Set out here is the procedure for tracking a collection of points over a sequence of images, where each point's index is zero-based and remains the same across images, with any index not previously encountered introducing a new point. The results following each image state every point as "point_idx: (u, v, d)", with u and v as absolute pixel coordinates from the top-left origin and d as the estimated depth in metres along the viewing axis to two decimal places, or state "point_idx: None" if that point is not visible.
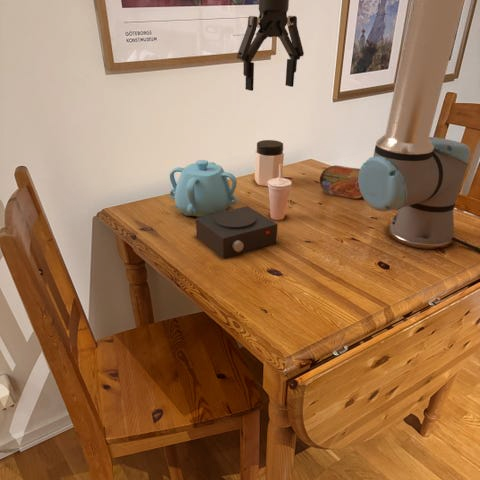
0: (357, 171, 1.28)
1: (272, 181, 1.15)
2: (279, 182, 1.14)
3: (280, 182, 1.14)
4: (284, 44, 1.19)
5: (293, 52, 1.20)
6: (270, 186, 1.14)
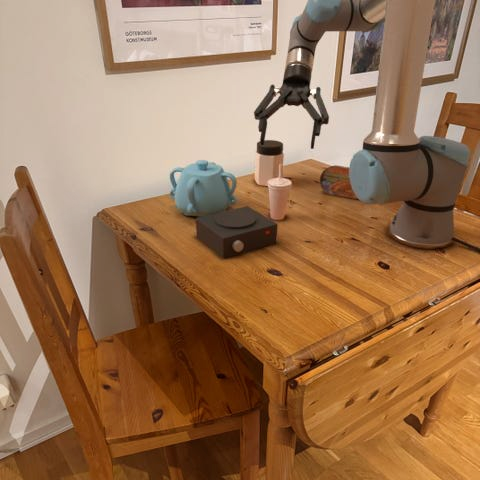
0: None
1: (272, 181, 1.15)
2: (279, 182, 1.14)
3: (280, 182, 1.14)
4: (308, 111, 1.20)
5: (315, 114, 1.18)
6: (270, 186, 1.14)
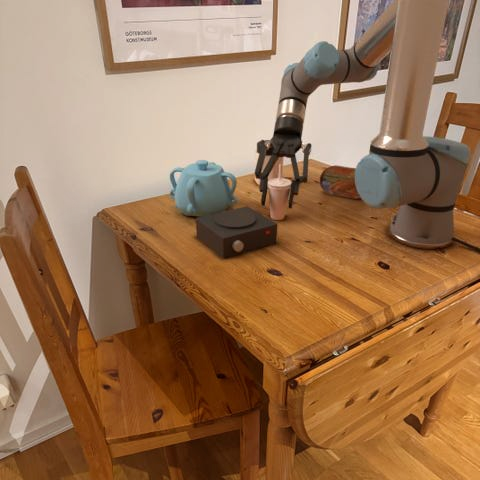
0: None
1: (272, 181, 1.15)
2: (279, 182, 1.14)
3: (280, 182, 1.14)
4: (292, 166, 1.16)
5: (295, 172, 1.14)
6: (270, 186, 1.14)
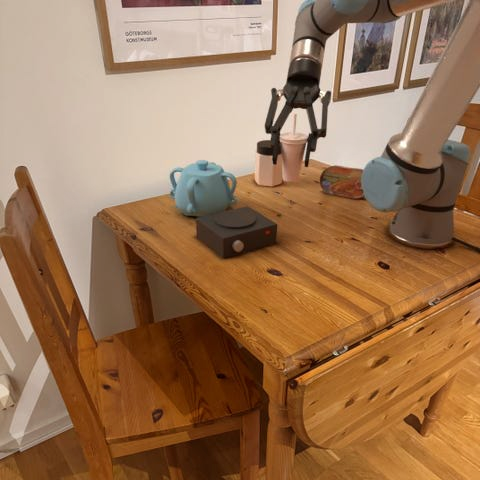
0: (357, 171, 1.28)
1: (285, 135, 0.98)
2: (294, 136, 0.97)
3: (295, 136, 0.97)
4: (308, 118, 0.99)
5: (312, 124, 0.97)
6: (283, 140, 0.97)
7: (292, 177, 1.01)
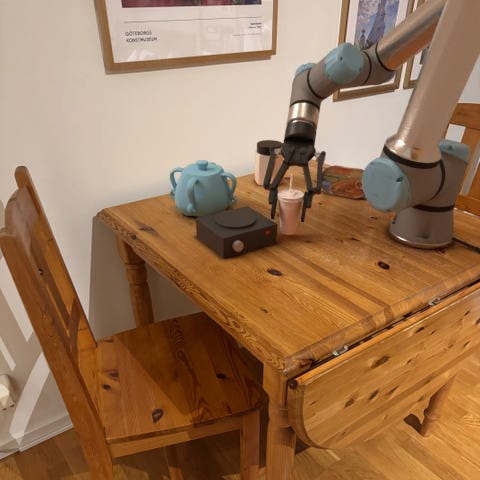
0: (357, 171, 1.28)
1: (282, 193, 1.05)
2: (291, 194, 1.04)
3: (291, 194, 1.04)
4: (304, 176, 1.06)
5: (308, 183, 1.04)
6: (280, 198, 1.03)
7: (289, 230, 1.08)
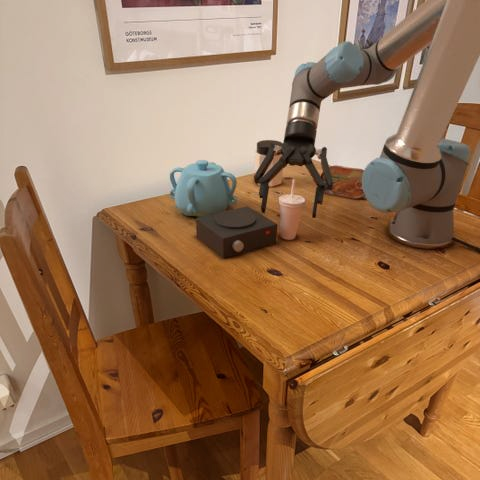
0: (357, 171, 1.28)
1: (284, 198, 1.06)
2: (292, 199, 1.04)
3: (293, 199, 1.04)
4: (311, 174, 1.06)
5: (318, 179, 1.03)
6: (282, 203, 1.04)
7: (289, 235, 1.09)
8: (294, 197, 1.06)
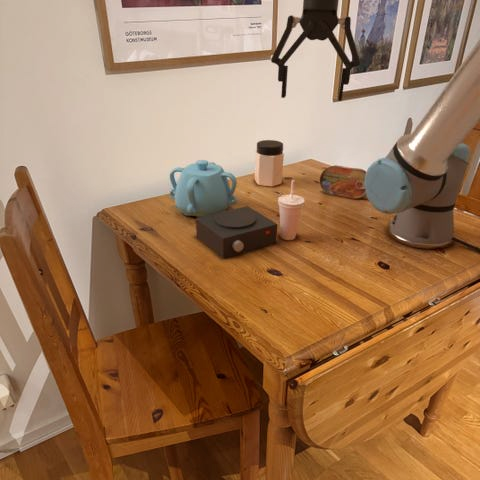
0: (357, 171, 1.28)
1: (283, 198, 1.05)
2: (291, 200, 1.04)
3: (292, 200, 1.04)
4: None
5: (343, 60, 1.00)
6: (281, 204, 1.04)
7: (289, 236, 1.09)
8: (294, 197, 1.05)
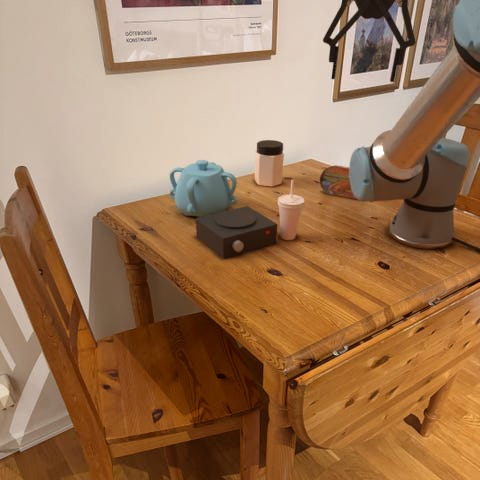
0: None
1: (283, 198, 1.05)
2: (291, 200, 1.04)
3: (292, 200, 1.04)
4: None
5: (398, 39, 0.98)
6: (280, 204, 1.04)
7: (289, 236, 1.09)
8: (293, 198, 1.05)
